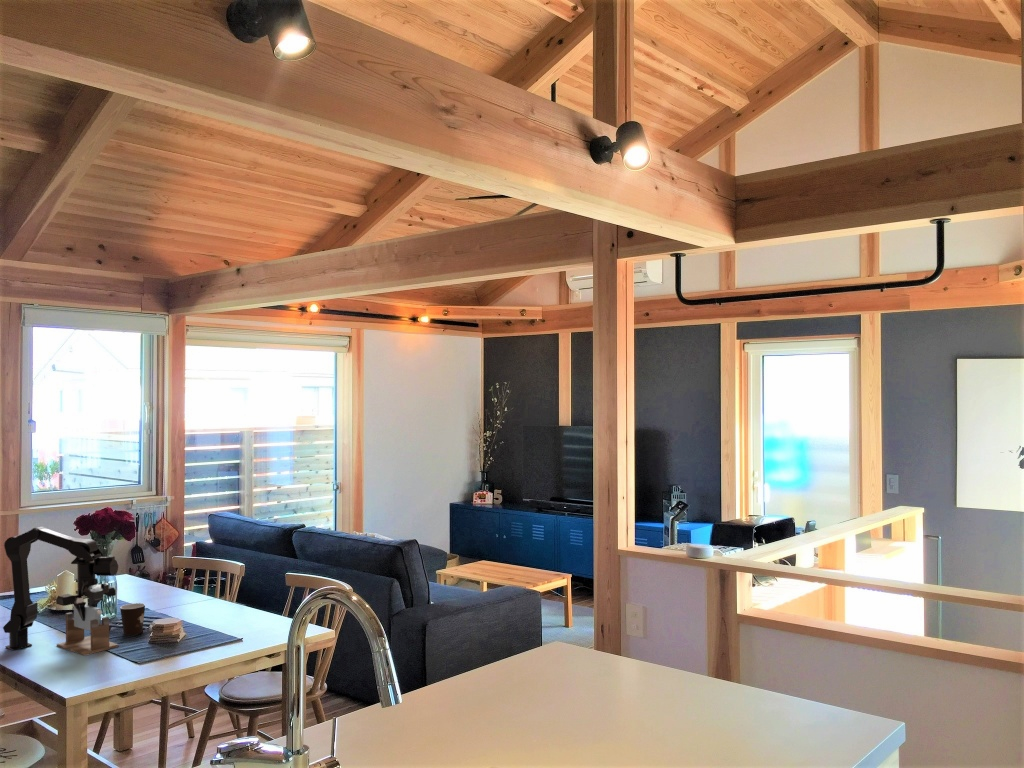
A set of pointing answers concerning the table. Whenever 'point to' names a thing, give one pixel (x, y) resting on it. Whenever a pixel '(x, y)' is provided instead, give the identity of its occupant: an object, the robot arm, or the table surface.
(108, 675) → the table surface
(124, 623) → the coffee mug
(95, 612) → the door
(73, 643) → the hinge frame
